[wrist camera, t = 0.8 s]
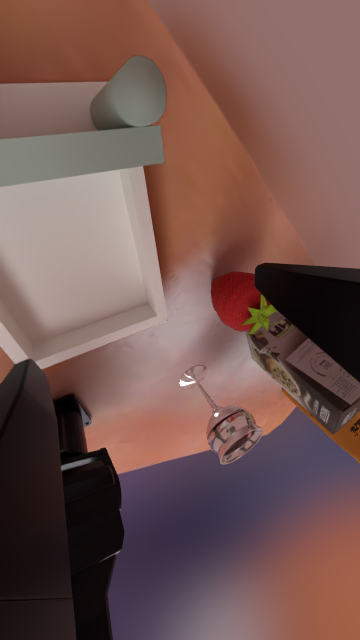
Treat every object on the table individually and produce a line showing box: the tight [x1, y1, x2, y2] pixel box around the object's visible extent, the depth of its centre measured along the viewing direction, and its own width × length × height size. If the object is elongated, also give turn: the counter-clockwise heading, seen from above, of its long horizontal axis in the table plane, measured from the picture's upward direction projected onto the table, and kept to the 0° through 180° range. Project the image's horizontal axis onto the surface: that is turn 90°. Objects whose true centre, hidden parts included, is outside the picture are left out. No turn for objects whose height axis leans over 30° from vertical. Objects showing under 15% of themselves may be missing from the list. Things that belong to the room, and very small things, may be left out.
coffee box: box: [246, 311, 360, 435], centre depth 33 cm, size 9×6×16 cm
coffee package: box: [282, 388, 360, 463], centre depth 51 cm, size 10×12×22 cm
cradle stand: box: [0, 55, 168, 369], centre depth 15 cm, size 18×13×8 cm
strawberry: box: [211, 271, 285, 336], centre depth 24 cm, size 6×8×10 cm
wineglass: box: [180, 366, 264, 464], centre depth 32 cm, size 7×7×12 cm
